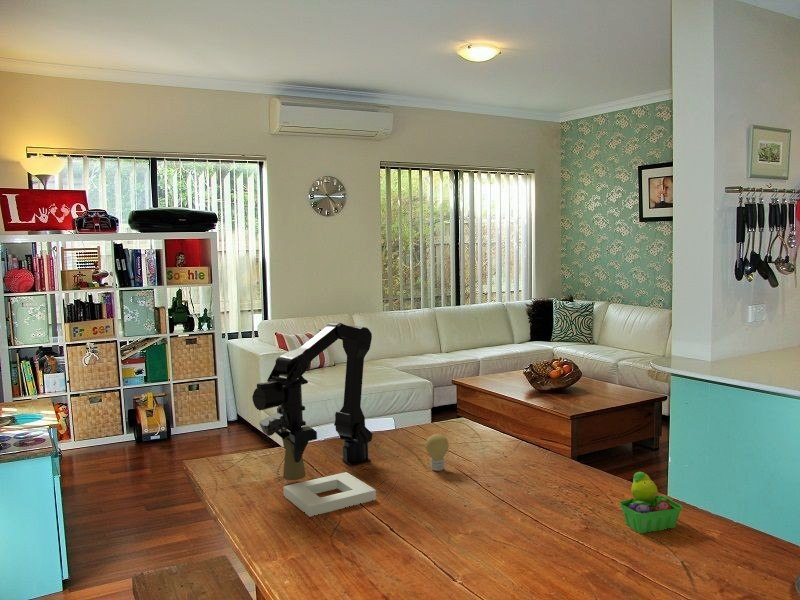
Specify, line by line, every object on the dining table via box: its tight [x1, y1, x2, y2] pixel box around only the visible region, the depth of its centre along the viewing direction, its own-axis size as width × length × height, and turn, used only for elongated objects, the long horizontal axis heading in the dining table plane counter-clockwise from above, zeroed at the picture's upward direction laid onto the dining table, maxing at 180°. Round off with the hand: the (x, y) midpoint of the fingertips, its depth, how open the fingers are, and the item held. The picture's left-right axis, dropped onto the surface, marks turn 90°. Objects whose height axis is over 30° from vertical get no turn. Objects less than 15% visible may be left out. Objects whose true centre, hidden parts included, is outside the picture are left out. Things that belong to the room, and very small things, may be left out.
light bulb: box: [425, 433, 450, 472], centre depth 188 cm, size 6×6×10 cm
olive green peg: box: [282, 436, 307, 481], centre depth 181 cm, size 6×6×11 cm
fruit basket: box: [619, 471, 683, 534], centre depth 149 cm, size 11×9×11 cm
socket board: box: [282, 471, 377, 518], centre depth 170 cm, size 18×16×2 cm
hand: (293, 459), depth 181 cm, fingers closed on olive green peg, 4 cm apart
